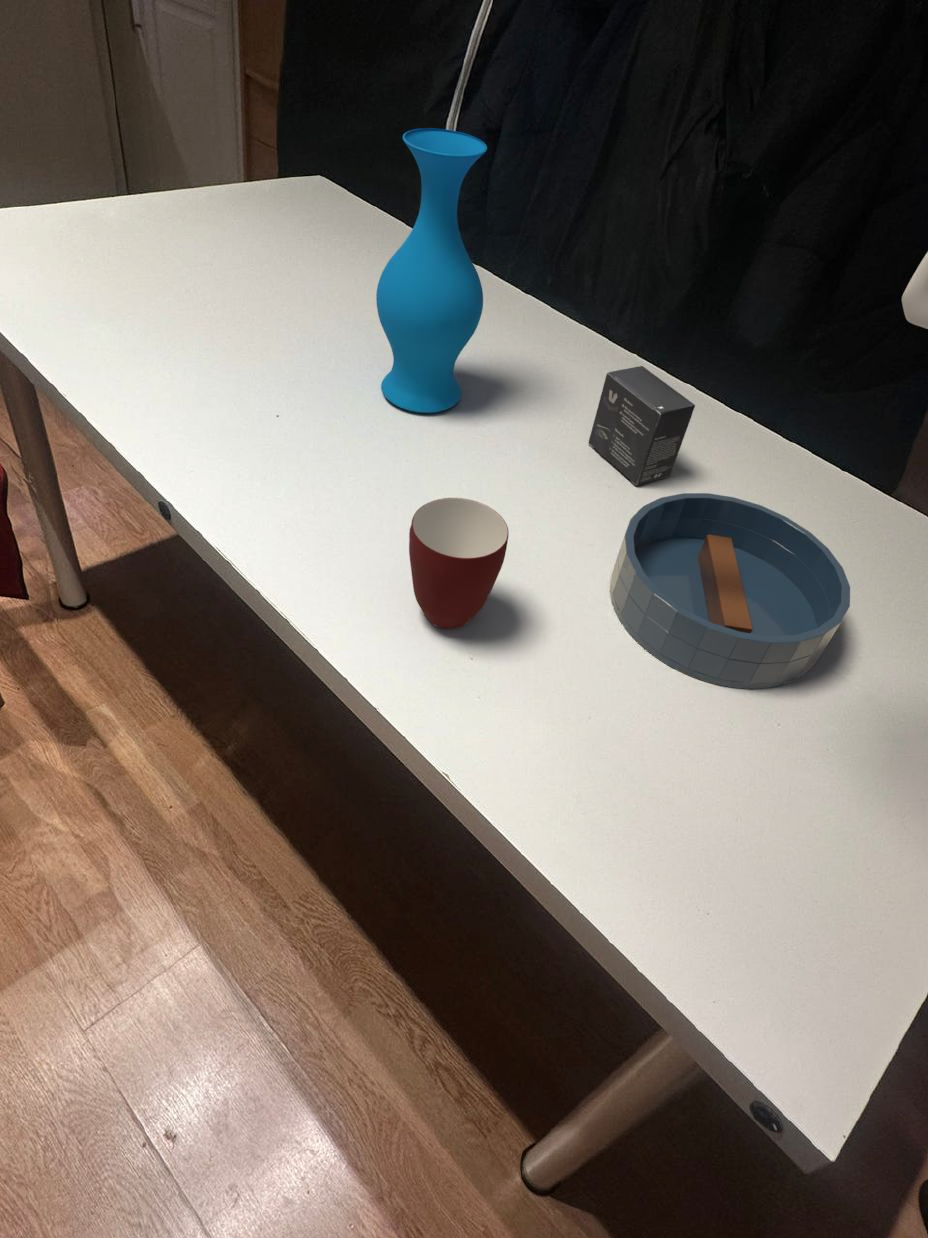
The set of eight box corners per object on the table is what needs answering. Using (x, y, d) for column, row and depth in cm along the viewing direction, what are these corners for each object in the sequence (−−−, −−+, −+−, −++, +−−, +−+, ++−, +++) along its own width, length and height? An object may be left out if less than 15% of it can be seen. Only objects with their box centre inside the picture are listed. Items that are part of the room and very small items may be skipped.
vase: (473, 377, 106) (508, 134, 86) (464, 428, 97) (501, 169, 77) (381, 362, 106) (395, 115, 86) (363, 412, 97) (374, 148, 77)
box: (672, 477, 95) (698, 404, 88) (635, 487, 92) (659, 413, 86) (622, 435, 100) (643, 363, 93) (586, 444, 98) (605, 370, 91)
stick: (697, 556, 83) (707, 533, 81) (721, 560, 83) (731, 537, 81) (713, 648, 74) (725, 624, 72) (740, 652, 74) (753, 629, 72)
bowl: (847, 602, 82) (875, 557, 78) (780, 727, 69) (810, 681, 65) (663, 514, 89) (680, 468, 85) (571, 612, 76) (585, 563, 72)
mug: (368, 589, 75) (372, 501, 68) (435, 558, 79) (446, 472, 72) (441, 660, 70) (455, 572, 63) (509, 622, 74) (529, 536, 67)
